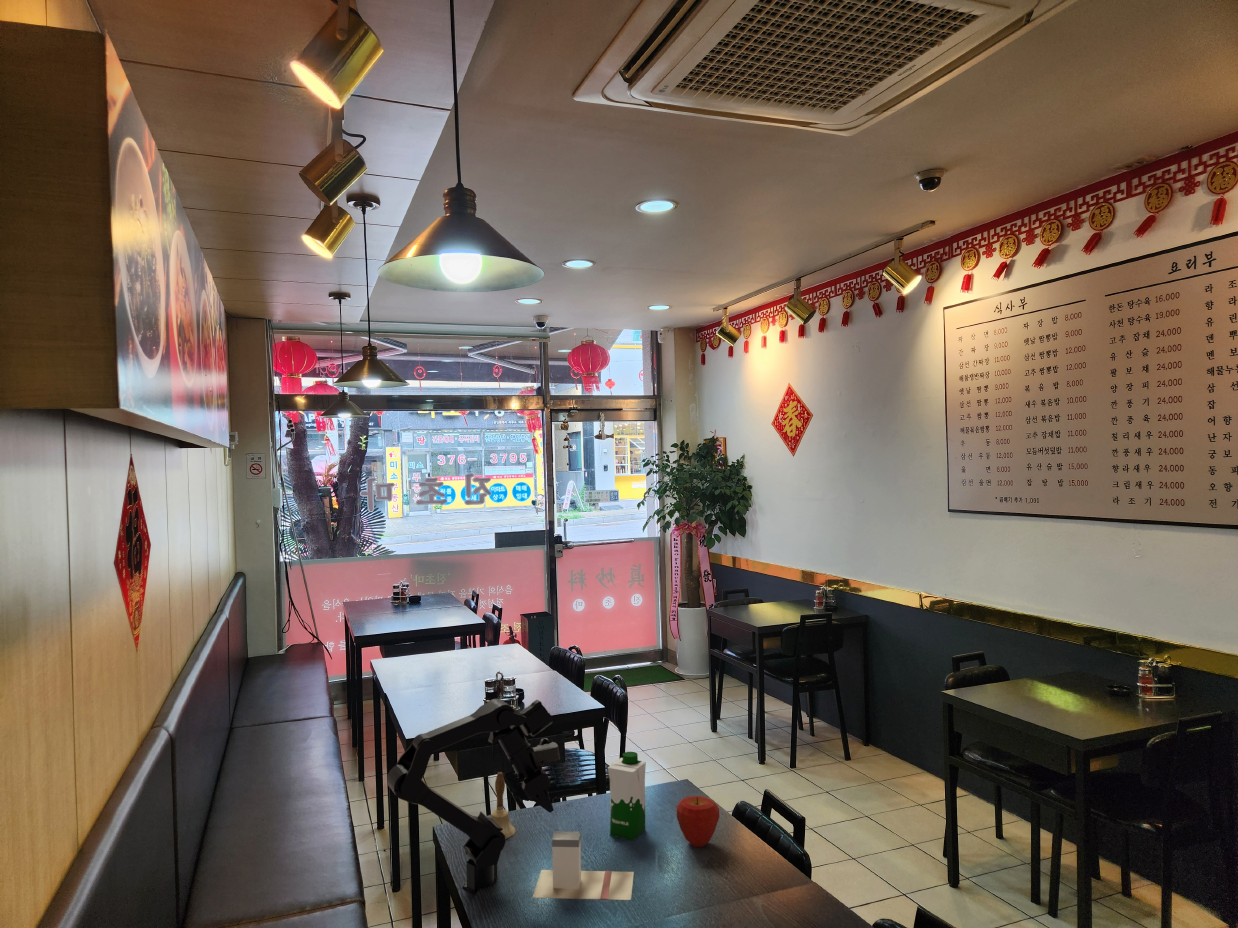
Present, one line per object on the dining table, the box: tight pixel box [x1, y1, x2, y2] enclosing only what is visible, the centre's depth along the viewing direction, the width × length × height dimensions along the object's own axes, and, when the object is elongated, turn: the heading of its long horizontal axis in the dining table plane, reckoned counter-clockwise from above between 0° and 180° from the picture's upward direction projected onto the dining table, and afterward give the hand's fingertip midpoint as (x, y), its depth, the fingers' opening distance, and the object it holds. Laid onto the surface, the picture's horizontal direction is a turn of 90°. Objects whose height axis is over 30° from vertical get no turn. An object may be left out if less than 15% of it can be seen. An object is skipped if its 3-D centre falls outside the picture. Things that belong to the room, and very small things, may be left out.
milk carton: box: [607, 751, 647, 842], centre depth 205 cm, size 9×9×20 cm
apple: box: [676, 795, 720, 848], centre depth 198 cm, size 11×11×12 cm
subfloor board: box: [532, 869, 635, 901], centre depth 177 cm, size 22×12×1 cm, turn 86°
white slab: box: [551, 830, 582, 889], centre depth 177 cm, size 6×4×11 cm
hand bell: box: [490, 771, 516, 840], centre depth 206 cm, size 8×8×16 cm
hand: (548, 804), depth 184 cm, fingers open, 9 cm apart
